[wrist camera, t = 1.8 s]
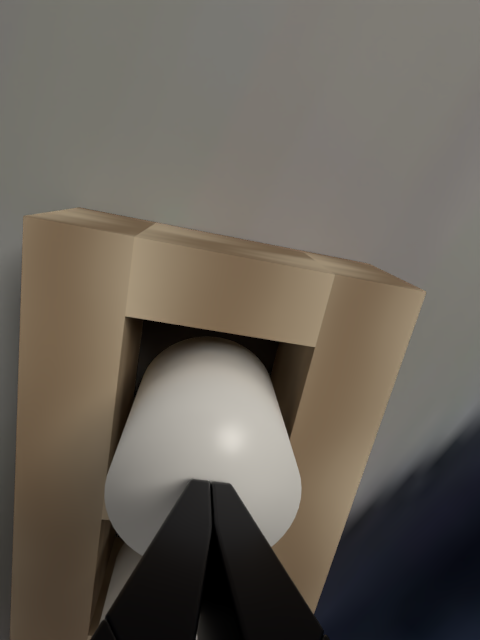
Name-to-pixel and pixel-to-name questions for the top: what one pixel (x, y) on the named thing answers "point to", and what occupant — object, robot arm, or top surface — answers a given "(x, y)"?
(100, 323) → the beech block
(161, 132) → the top surface
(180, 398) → the plug
